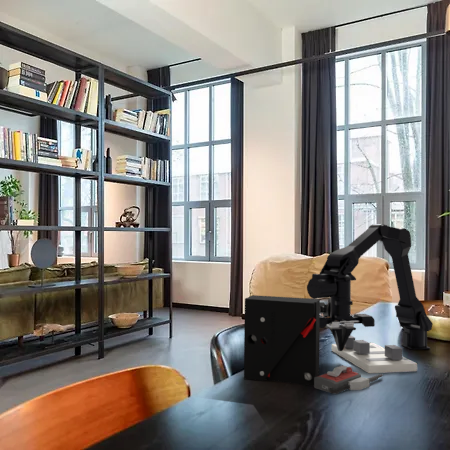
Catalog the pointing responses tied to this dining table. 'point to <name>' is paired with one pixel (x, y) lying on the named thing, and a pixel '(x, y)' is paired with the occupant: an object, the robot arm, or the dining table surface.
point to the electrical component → (281, 339)
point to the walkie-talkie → (342, 380)
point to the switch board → (375, 360)
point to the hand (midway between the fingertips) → (340, 350)
